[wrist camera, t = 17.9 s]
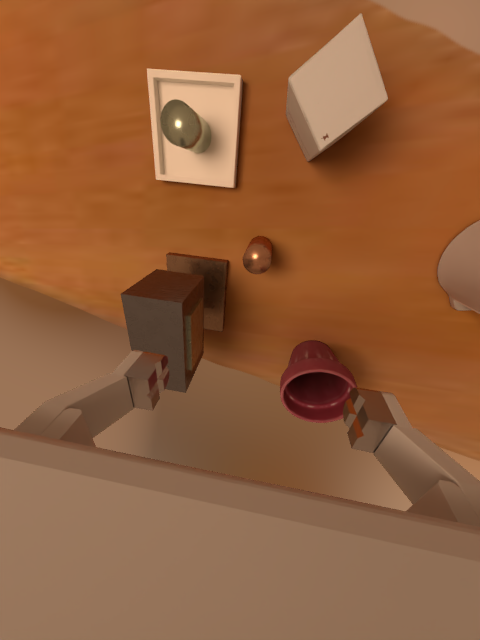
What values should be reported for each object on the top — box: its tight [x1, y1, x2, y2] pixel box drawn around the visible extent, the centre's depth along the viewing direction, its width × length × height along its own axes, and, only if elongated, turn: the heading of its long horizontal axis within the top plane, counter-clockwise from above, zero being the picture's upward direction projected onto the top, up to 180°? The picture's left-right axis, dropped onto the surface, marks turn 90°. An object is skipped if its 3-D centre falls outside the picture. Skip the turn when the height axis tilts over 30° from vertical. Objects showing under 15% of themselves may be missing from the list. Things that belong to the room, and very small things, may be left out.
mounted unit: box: [121, 252, 228, 393], centre depth 42 cm, size 12×16×20 cm
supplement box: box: [286, 13, 388, 162], centre depth 28 cm, size 7×7×13 cm
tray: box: [147, 69, 243, 188], centre depth 35 cm, size 13×13×2 cm
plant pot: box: [280, 341, 357, 423], centre depth 49 cm, size 14×14×13 cm
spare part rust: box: [243, 236, 272, 274], centre depth 40 cm, size 4×4×8 cm
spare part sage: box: [160, 99, 212, 153], centre depth 32 cm, size 4×4×8 cm
